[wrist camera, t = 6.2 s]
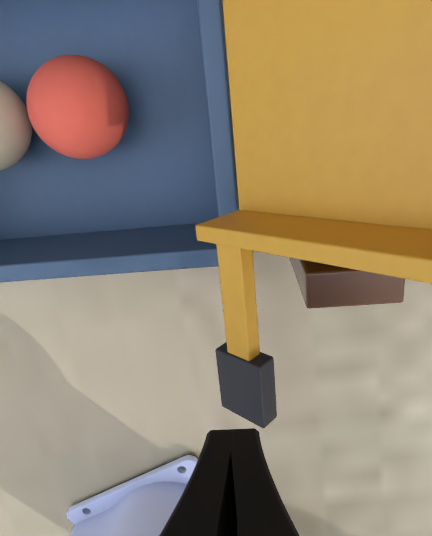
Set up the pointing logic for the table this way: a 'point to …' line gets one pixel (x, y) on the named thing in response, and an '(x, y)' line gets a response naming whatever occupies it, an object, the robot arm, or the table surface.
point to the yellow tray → (321, 158)
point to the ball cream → (13, 127)
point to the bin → (122, 141)
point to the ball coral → (77, 106)
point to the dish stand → (344, 285)
